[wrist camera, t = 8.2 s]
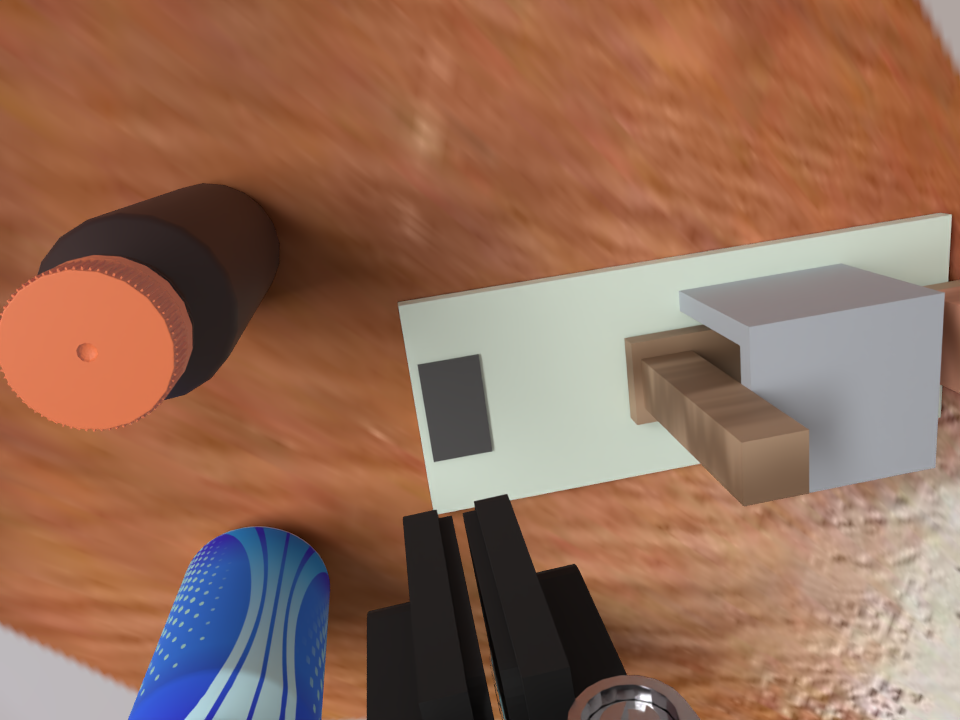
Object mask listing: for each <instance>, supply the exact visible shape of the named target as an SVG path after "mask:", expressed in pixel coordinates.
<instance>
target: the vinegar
mask: <svg viewBox="0 0 960 720" xmlns="http://www.w3.org/2000/svg"><path fill="white" fill-rule="evenodd" d="M279 247H280V243H279V240H278V237H277V234H276V231H275V227H274V224H273V223H272V221H271V220H270V218H269V217H268V215H267V214H266V213H265V211H264V210H263V208H262V207H261V206H260V205H259V204H257V203H256V202H255V201H254V200H252V199H251V198H250V197H249V196H247V195H246V194H245V193H243V192H240V191H238V190H235V189H233V188H230V187H228V186H225V185H217V184H204V183H202V184H198V185H194V186H189V187H185V188H181V189H178V190H175V191H172V192H169V193H166V194H163V195H160V196H157V197H154V198H151V199H148V200H145V201H142V202H139V203H136V204H133V205H130V206H127V207H124V208H121V209H118V210H115V211H112V212H109V213H106V214H103V215H100V216H97V217H94V218H91V219H88V220H86V221H85V222H83V223H82V224H80V225H79V226H77V227H75V228H74V229H72V230H71V231H69V232H68V233H66V234H65V235H63V236H61V237H60V238H59V239H58V241H57V242H56V243H55V245H54V246H53V247H52V249H51V250H50V251H49V253H48V254H47V255H46V257H45V258H44V259H43V261H42V262H41V265H40V268H39V272H38V275H37V276H35V277H34V278H32V279H30V280H28V282H27V283H24V284H22V287H21V288H19V289H16V291H17V292H16V293H14V294H12V295H11V296H12V297H13V298H11V299H9V300H7V302H8V303H9V304H8V305H6V306H4V307H3V308H4V309H5V310H4V311H3V312H2V313H0V315H2V318H1V319H0V365H1V367H2V370H0V371H1V372H3V371H4V374H5V376H4V377H3V378H7V380H8V382H9V383H8V384H7V385H10V386H11V387H12V388H13V389H12V391H15V392H16V393H17V394H18V395H17V397H21V398H22V400H23V401H22V403H24V402H25V403H26V404H27V405H28V408H30V407H31V408H32V409H34V410H35V411H34V413H36V412H39V413H40V414H42V415H41V417H43V416H45V417H47V418H48V421H49V420H51V421H54V422H55V424H57V423H61V424H63V425H62V426H63V427H64V426H65V425H68V426H70V429H72V428H73V427H74V428H77V429H78V430H80V429H85V431H87V430H88V429H93V431H94V432H95V431H96V429H100V430H101V432H102V431H103V430H104V429H108V430H109V431H110V430H111V429H112V428H113V427H115V429H118V428H119V426H121V425H122V427H125V426H126V425H127V424H128V423H129V424H130V425H131V424H132V423H133V422H134V421H136V422H138V421H139V419H140V418H141V417H142V418H144V417H145V416H146V415H147V414H150V413H151V412H152V411H153V410H155V409H156V408H157V407H158V405H160V404H161V403H162V401H163V400H167V399H170V398H174V397H178V396H182V395H185V394H187V393H189V392H190V391H192V390H193V389H195V388H197V387H198V386H200V385H201V384H203V383H205V382H206V381H208V380H209V379H211V378H212V377H213V375H214V374H215V373H216V372H217V370H218V369H219V368H220V367H221V366H222V364H223V363H224V362H225V361H226V359H227V358H228V357H229V355H230V354H231V352H232V350H233V349H234V347H235V345H236V344H237V342H238V340H239V338H240V337H241V335H242V333H243V332H244V330H245V328H246V326H247V325H248V323H249V321H250V320H251V318H252V316H253V314H254V313H255V311H256V309H257V308H258V306H259V304H260V302H261V301H262V299H263V297H264V296H265V294H266V292H267V291H268V289H269V287H270V285H271V284H272V282H273V279H274V277H275V274H276V271H277V268H278V265H279Z"/></svg>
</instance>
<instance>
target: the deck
mask: <svg viewBox="0 0 960 720" xmlns="http://www.w3.org/2000/svg"><path fill="white" fill-rule="evenodd" d="M951 221H952V215H950V214H944V213H936V214H930V215H924V216H918V217H912V218H906V219H900V220H894V221H888V222H882V223H876V224H870V225H864V226H857V227H851V228H845V229H839V230H833V231H827V232H821V233H815V234H809V235H803V236H797V237H791V238H785V239H778V240H772V241H766V242H760V243H754V244H748V245H742V246H736V247H730V248H724V249H718V250H712V251H706V252H699V253H693V254H687V255H681V256H675V257H669V258H663V259H657V260H651V261H645V262H639V263H633V264H627V265H621V266H614V267H608V268H602V269H596V270H590V271H584V272H578V273H572V274H566V275H560V276H554V277H548V278H542V279H535V280H529V281H523V282H517V283H511V284H505V285H499V286H493V287H487V288H481V289H475V290H469V291H463V292H456V293H450V294H444V295H438V296H432V297H426V298H420V299H414V300H408V301H402V302H398V308H399V314H400V320H401V326H402V332H403V337H404V343H405V349H406V355H407V361H408V366H409V372H410V378H411V384H412V390H413V395H414V401H415V407H416V413H417V419H418V424H419V430H420V436H421V442H422V448H423V454H424V459H425V465H426V471H427V477H428V483H429V488H430V494H431V500H432V506H433V510H437V513H438V514H442V513H447V512H452V511H458V510H463V509H468V508H473V507H475V506H474V501H477V500H482V499H486V498H491V497H495V496H500V495H504V494H508V497H509V500H514V499H520V498H525V497H530V496H535V495H540V494H546V493H551V492H556V491H561V490H566V489H571V488H577V487H582V486H587V485H592V484H597V483H602V482H608V481H613V480H618V479H623V478H628V477H633V476H639V475H644V474H649V473H654V472H659V471H665V470H670V469H675V468H680V467H685V466H690V465H696V464H701V463H700V462H699V461H698V460H697V459H696V458H694V457H693V456H692V455H691V454H690V453H689V452H688V451H687V450H686V449H685V448H684V447H683V446H682V445H681V444H680V443H679V442H678V441H677V440H676V439H675V438H674V437H673V436H672V435H671V434H670V433H669V432H668V431H667V430H666V429H665V428H664V427H663V426H662V425H661V424H660V423H659V422H658V421H657V422H652V423H647V424H641V425H637V424H636V423H635V422H634V421H633V420H632V419H631V417H630V404H629V392H628V379H627V366H626V354H625V341H624V338H629V337H634V336H640V335H646V334H652V333H657V332H663V331H669V330H674V329H680V328H686V327H692V326H697V325H703V324H702V323H700V322H698V321H697V320H695V319H693V318H691V317H690V316H688V315H686V314H684V313H683V312H681V311H680V305H679V291H681V290H686V289H692V288H698V287H704V286H710V285H716V284H722V283H728V282H734V281H740V280H746V279H751V278H757V277H763V276H769V275H775V274H781V273H787V272H793V271H799V270H805V269H811V268H816V267H822V266H828V265H834V264H840V263H841V264H845V265H848V266H852V267H855V268H859V269H863V270H866V271H870V272H873V273H877V274H880V275H884V276H887V277H891V278H894V279H898V280H901V281H905V282H908V283H912V284H916V285H919V286H927V285H932V284H938V283H944V282H948V275H949V257H950V239H951ZM941 401H942V385H940V390H939V408H938V418H939V417H941Z"/></svg>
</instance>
